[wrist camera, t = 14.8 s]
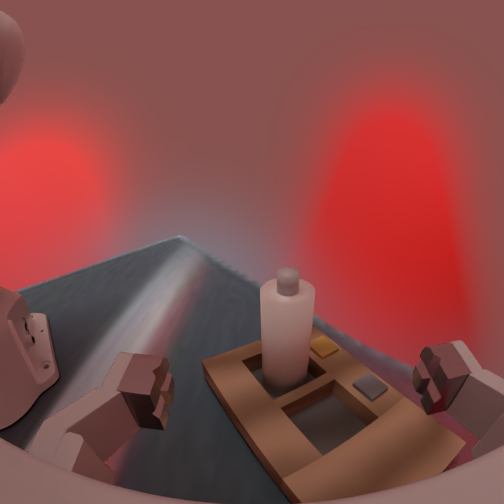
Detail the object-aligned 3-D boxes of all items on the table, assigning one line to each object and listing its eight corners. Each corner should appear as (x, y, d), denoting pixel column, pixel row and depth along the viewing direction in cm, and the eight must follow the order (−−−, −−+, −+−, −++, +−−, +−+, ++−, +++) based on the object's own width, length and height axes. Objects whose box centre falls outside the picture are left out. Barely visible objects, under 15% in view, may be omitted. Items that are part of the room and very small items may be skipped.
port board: (205, 378, 27) (200, 357, 26) (305, 338, 32) (307, 317, 31) (340, 557, 10) (350, 552, 9) (452, 457, 15) (468, 439, 14)
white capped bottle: (262, 398, 24) (259, 287, 19) (262, 367, 28) (259, 260, 23) (308, 396, 24) (321, 285, 19) (303, 365, 27) (311, 259, 23)
